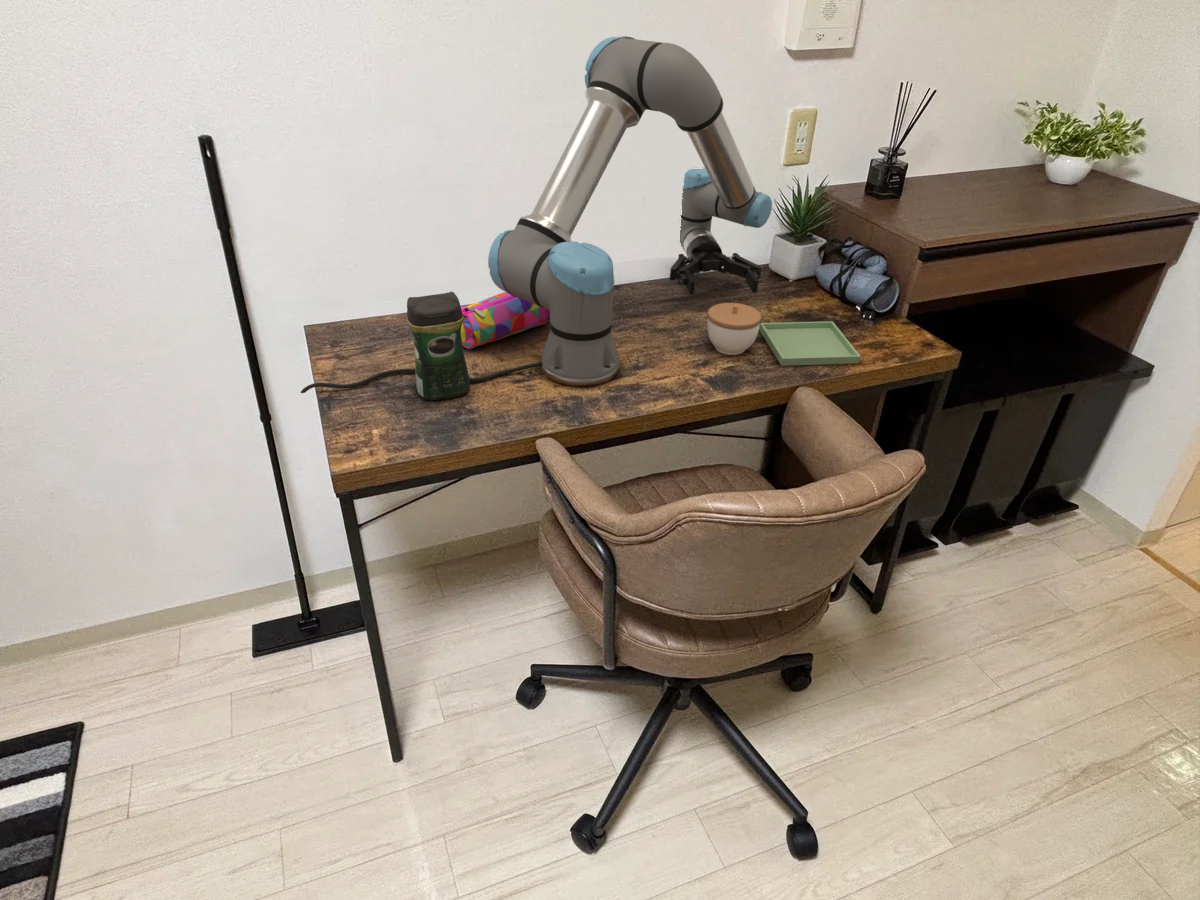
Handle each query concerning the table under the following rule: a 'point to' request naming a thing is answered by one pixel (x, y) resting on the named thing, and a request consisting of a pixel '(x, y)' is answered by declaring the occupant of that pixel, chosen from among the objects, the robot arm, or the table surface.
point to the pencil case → (499, 319)
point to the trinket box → (732, 327)
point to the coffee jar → (438, 345)
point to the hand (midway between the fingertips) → (724, 287)
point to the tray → (808, 343)
